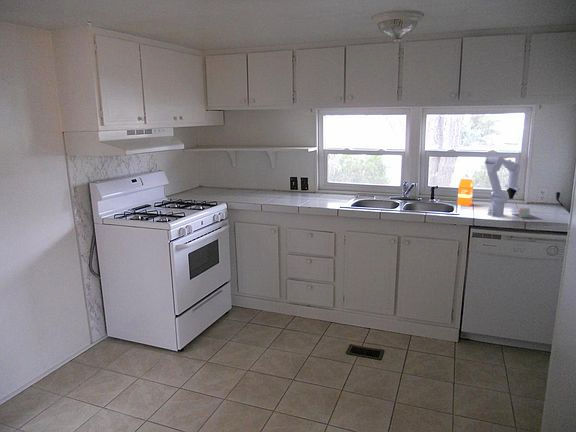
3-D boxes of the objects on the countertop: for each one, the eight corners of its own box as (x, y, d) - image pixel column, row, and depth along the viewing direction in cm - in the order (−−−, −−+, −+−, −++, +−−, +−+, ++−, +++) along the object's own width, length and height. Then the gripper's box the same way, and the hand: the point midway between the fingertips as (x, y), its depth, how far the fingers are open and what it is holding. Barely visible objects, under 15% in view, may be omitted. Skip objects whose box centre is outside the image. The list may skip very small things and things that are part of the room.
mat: (525, 220, 294) (525, 219, 294) (511, 214, 310) (511, 214, 310) (542, 219, 295) (542, 219, 295) (527, 214, 311) (527, 213, 311)
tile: (520, 217, 300) (521, 208, 299) (519, 216, 302) (519, 208, 301) (529, 217, 300) (530, 208, 299) (527, 216, 302) (528, 208, 301)
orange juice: (460, 202, 353) (462, 178, 348) (471, 204, 347) (473, 179, 343) (457, 204, 347) (459, 179, 342) (468, 205, 341) (470, 180, 337)
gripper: (524, 181, 303) (522, 200, 307) (512, 178, 317) (510, 196, 321) (514, 181, 303) (512, 201, 306) (502, 178, 317) (501, 197, 320)
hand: (510, 198), depth 313 cm, fingers closed
